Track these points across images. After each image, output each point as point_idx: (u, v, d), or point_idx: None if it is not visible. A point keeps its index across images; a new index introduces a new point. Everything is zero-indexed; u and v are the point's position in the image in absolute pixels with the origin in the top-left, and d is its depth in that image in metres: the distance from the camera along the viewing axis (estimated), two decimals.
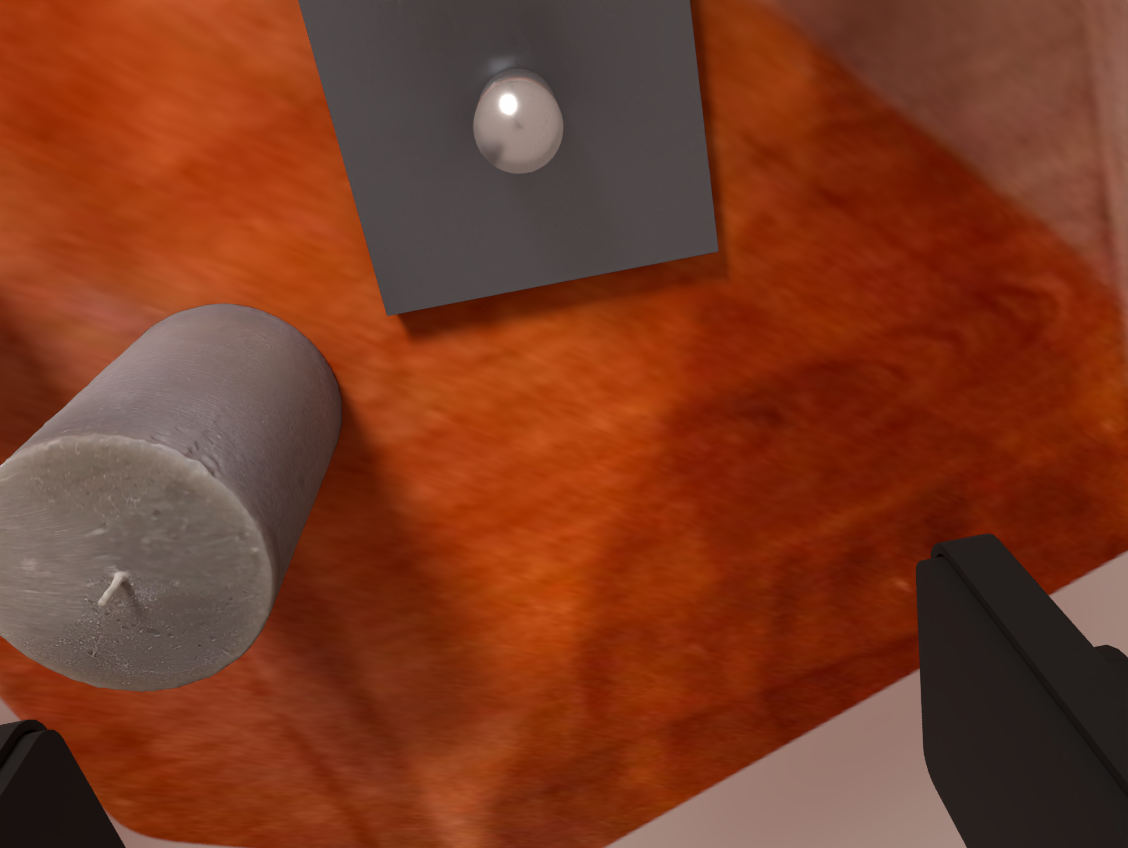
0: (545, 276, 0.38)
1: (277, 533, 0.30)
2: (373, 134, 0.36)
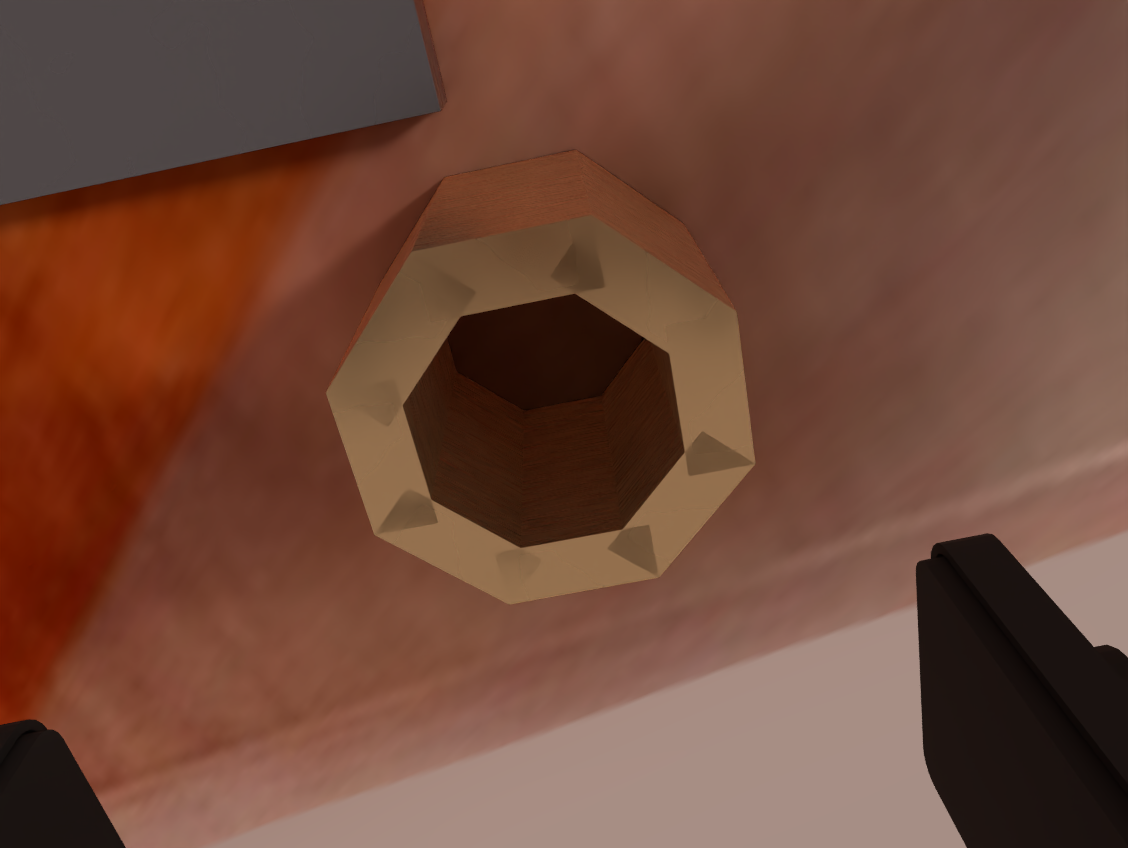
0: None
1: None
2: None
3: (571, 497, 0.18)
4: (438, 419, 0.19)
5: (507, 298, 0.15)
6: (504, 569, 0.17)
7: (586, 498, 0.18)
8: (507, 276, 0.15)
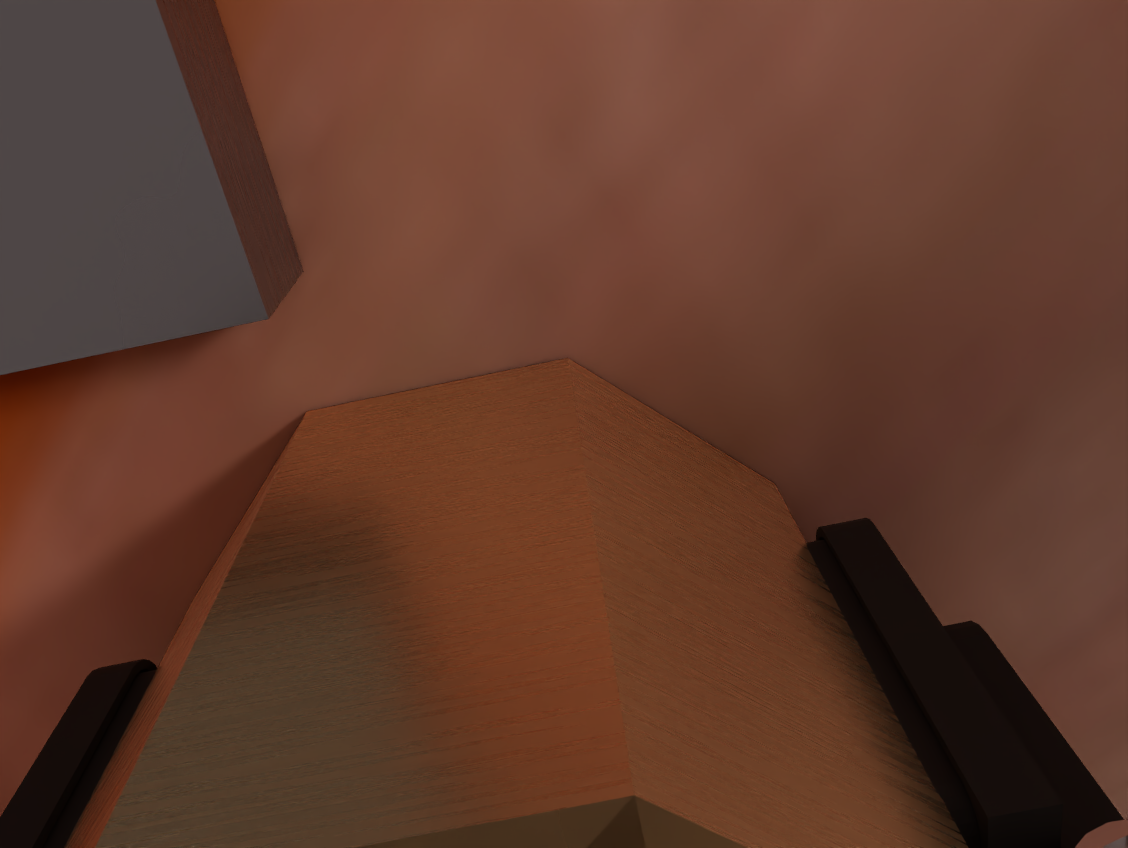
0: None
1: None
2: None
3: None
4: None
5: None
6: None
7: None
8: None
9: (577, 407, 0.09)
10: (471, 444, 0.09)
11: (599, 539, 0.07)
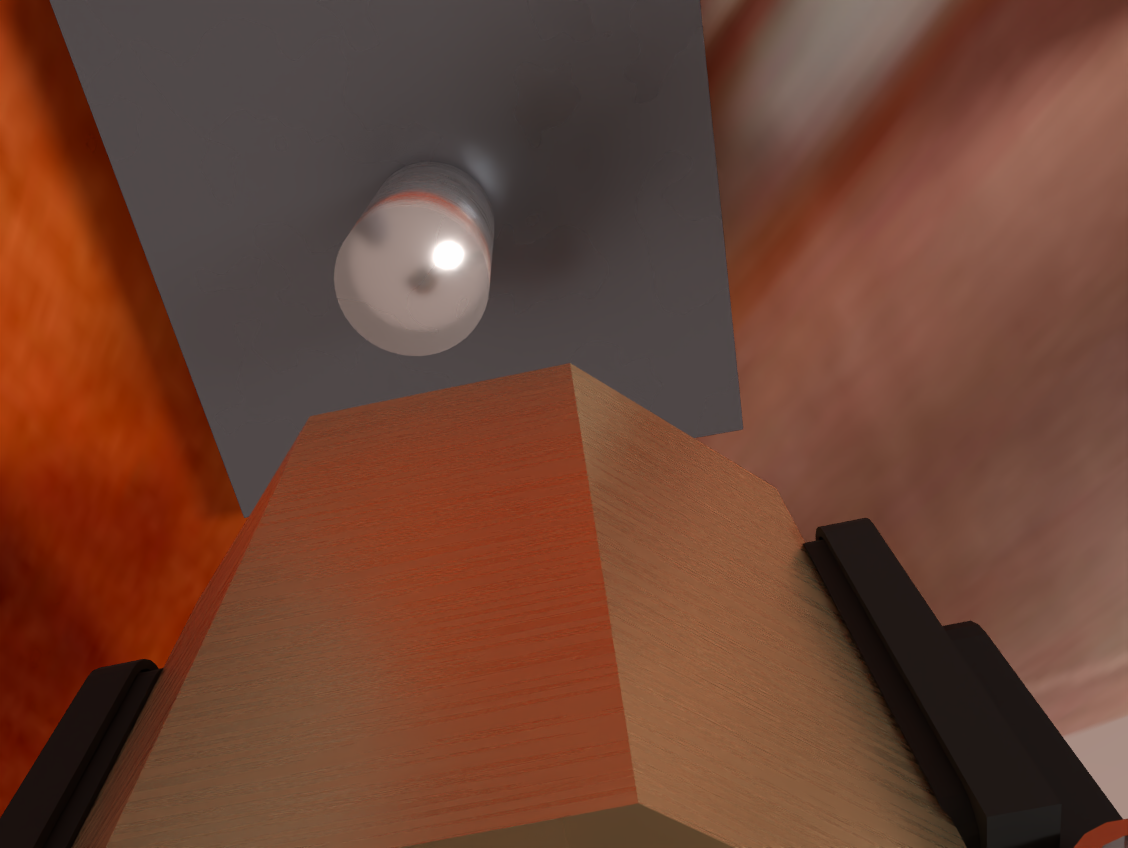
0: (165, 266, 0.23)
1: None
2: None
3: None
4: None
5: None
6: None
7: None
8: None
9: (579, 413, 0.09)
10: (474, 450, 0.09)
11: (602, 546, 0.07)
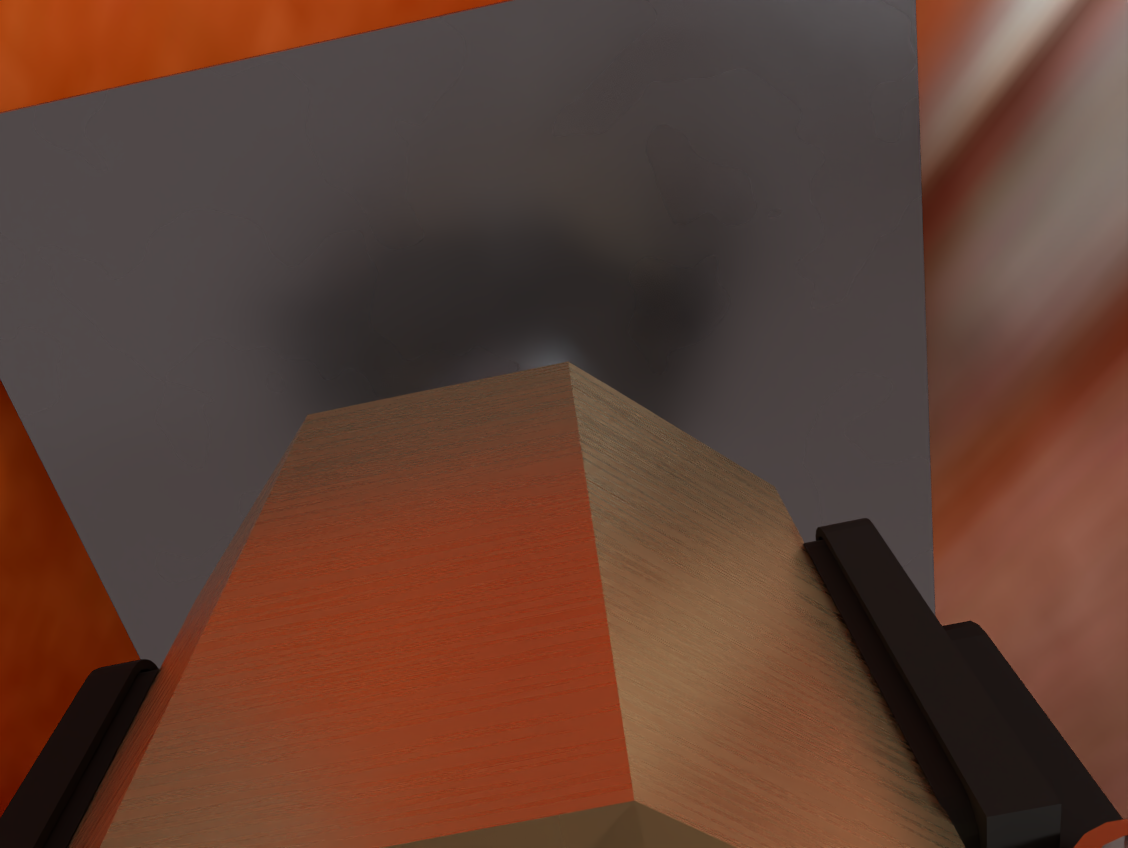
0: (109, 551, 0.15)
1: None
2: (424, 133, 0.13)
3: None
4: None
5: None
6: None
7: None
8: None
9: (577, 411, 0.09)
10: (471, 448, 0.09)
11: (599, 543, 0.07)
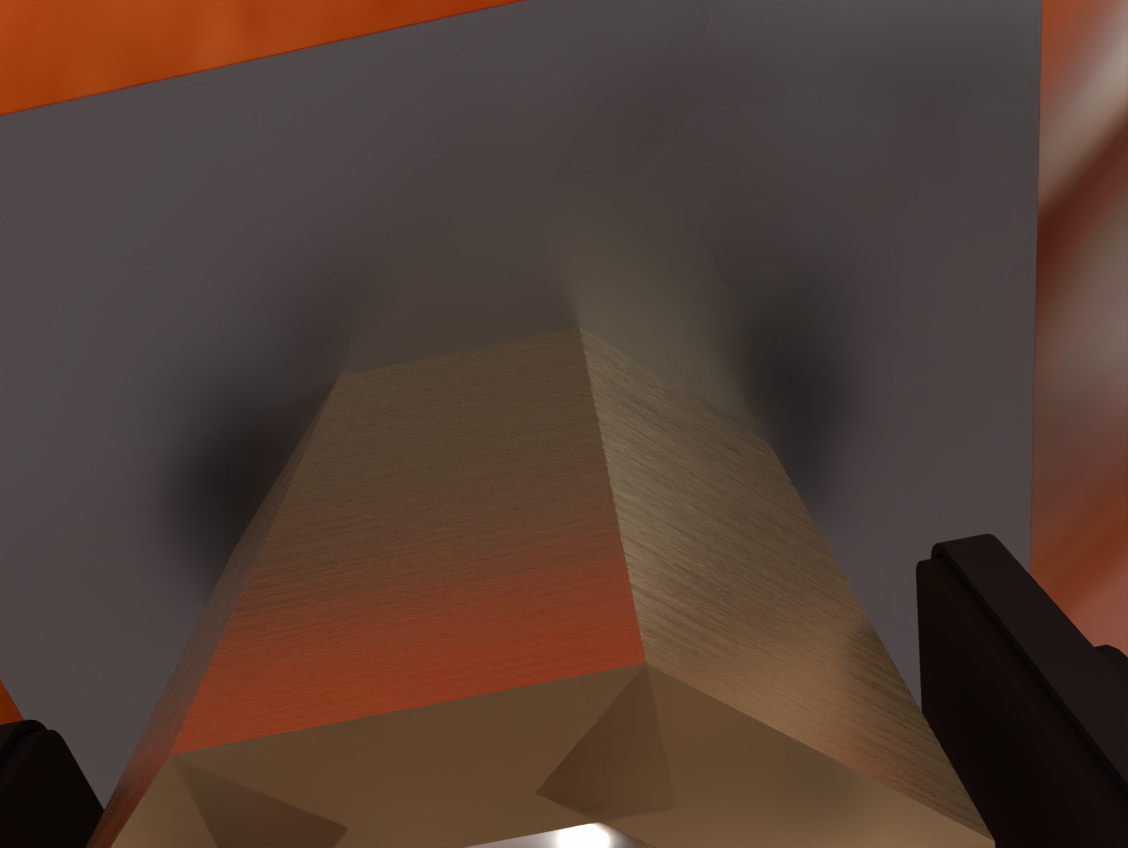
0: (26, 675, 0.13)
1: None
2: (408, 171, 0.10)
3: None
4: None
5: (429, 836, 0.06)
6: None
7: None
8: (429, 795, 0.06)
9: (589, 368, 0.10)
10: (493, 400, 0.09)
11: (612, 474, 0.08)
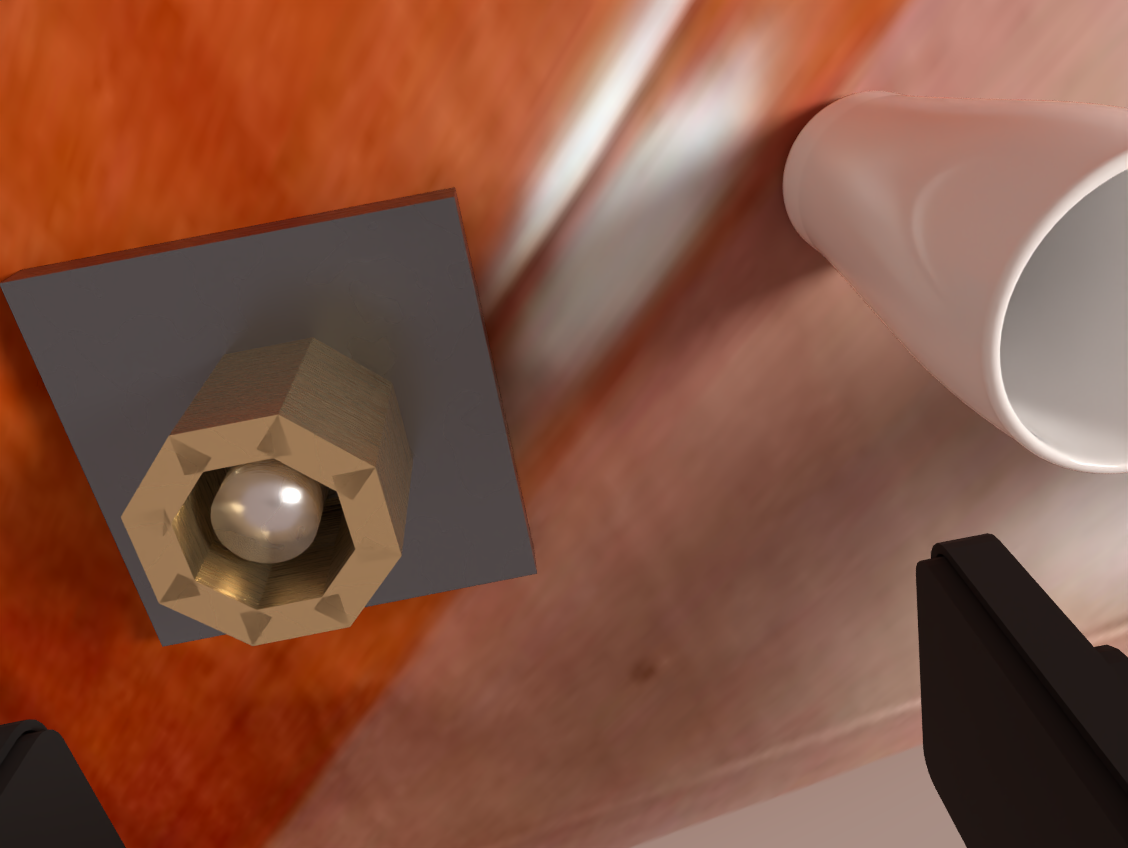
0: (97, 475, 0.31)
1: None
2: (246, 282, 0.29)
3: (299, 574, 0.28)
4: None
5: (231, 461, 0.25)
6: (247, 623, 0.27)
7: (308, 574, 0.28)
8: (230, 448, 0.25)
9: (307, 351, 0.29)
10: (272, 361, 0.28)
11: (295, 380, 0.26)
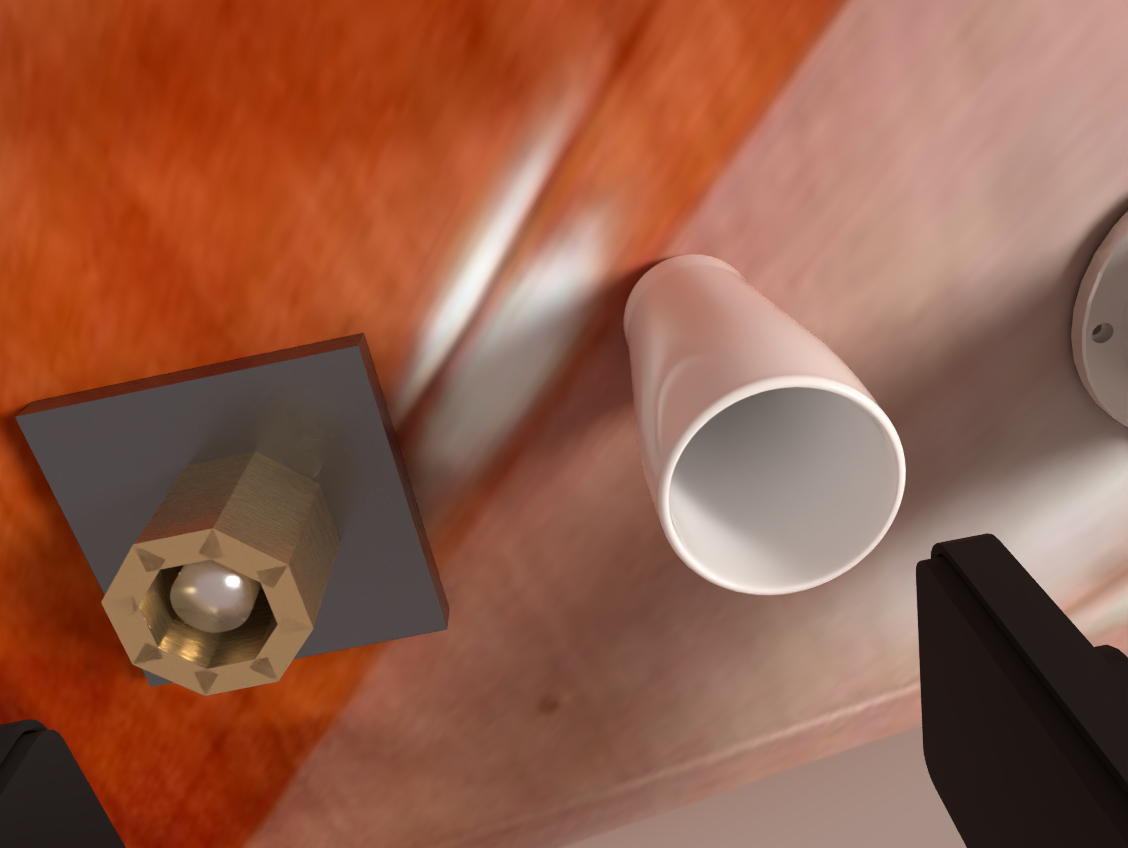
0: (94, 556, 0.40)
1: None
2: (201, 412, 0.37)
3: (242, 639, 0.36)
4: None
5: (180, 561, 0.33)
6: (199, 679, 0.35)
7: (248, 640, 0.36)
8: (179, 553, 0.33)
9: (248, 466, 0.37)
10: (220, 475, 0.36)
11: (232, 495, 0.35)
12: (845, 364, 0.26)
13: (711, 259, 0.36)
